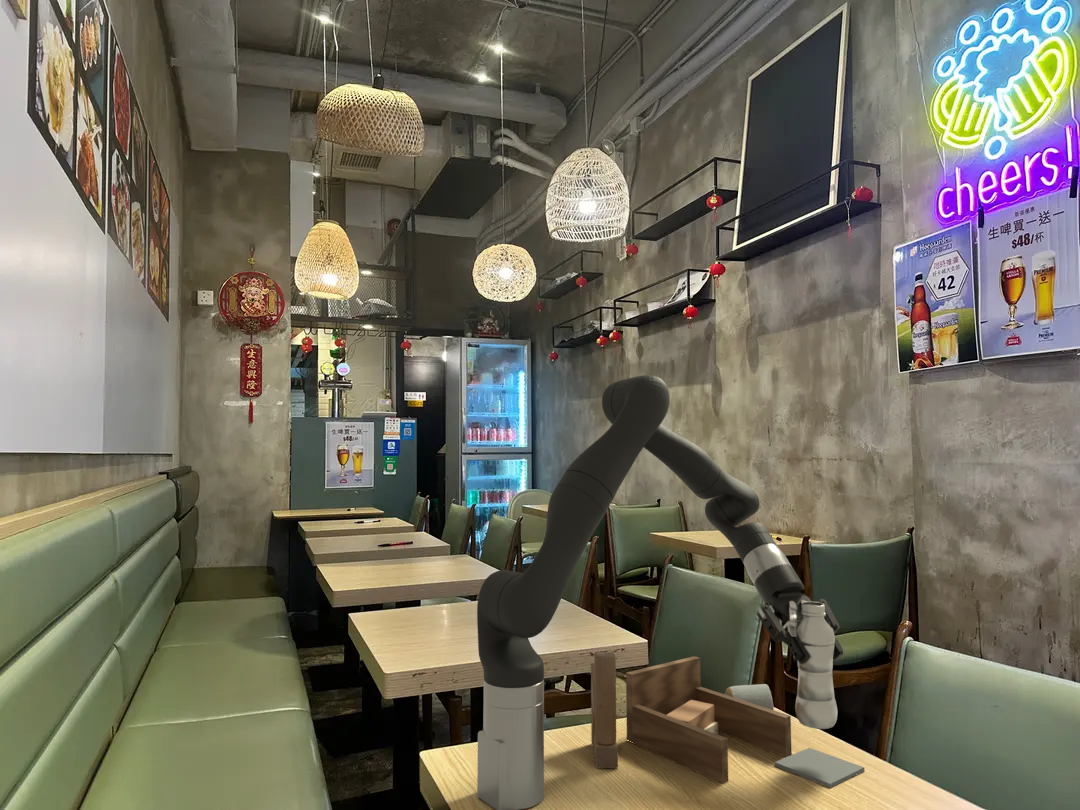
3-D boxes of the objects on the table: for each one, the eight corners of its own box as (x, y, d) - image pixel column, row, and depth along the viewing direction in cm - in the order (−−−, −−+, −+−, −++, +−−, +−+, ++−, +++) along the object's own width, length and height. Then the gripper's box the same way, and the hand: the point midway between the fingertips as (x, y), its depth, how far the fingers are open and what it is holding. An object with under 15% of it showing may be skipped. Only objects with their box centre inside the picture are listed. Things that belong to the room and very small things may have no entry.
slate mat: (830, 787, 110) (830, 783, 110) (774, 765, 118) (774, 762, 118) (864, 771, 116) (864, 767, 116) (809, 751, 124) (809, 747, 124)
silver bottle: (787, 723, 119) (783, 602, 121) (817, 716, 122) (813, 598, 124) (816, 736, 114) (812, 609, 115) (847, 729, 116) (843, 605, 118)
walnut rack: (722, 783, 112) (720, 704, 113) (626, 740, 129) (626, 672, 130) (791, 754, 123) (789, 683, 124) (695, 718, 140) (694, 656, 141)
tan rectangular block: (685, 760, 121) (684, 723, 121) (658, 751, 125) (657, 716, 125) (718, 739, 130) (718, 705, 131) (692, 732, 134) (692, 699, 134)
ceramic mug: (723, 718, 140) (723, 678, 141) (766, 719, 140) (765, 679, 140) (734, 739, 130) (733, 696, 130) (780, 741, 129) (779, 697, 130)
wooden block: (611, 743, 128) (610, 640, 129) (618, 769, 117) (617, 657, 118) (590, 743, 128) (590, 640, 129) (596, 769, 117) (595, 657, 118)
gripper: (749, 564, 124) (798, 651, 112) (814, 560, 129) (868, 642, 118) (731, 590, 129) (776, 676, 117) (794, 585, 134) (844, 666, 122)
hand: (822, 658), depth 117 cm, fingers closed on silver bottle, 6 cm apart
